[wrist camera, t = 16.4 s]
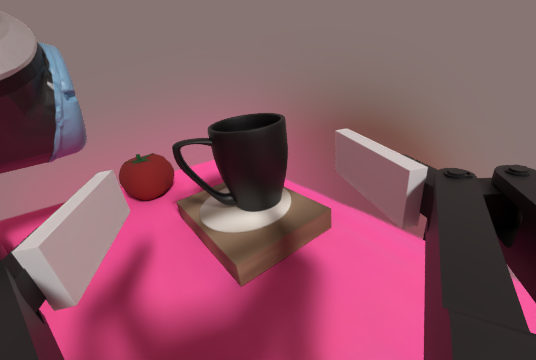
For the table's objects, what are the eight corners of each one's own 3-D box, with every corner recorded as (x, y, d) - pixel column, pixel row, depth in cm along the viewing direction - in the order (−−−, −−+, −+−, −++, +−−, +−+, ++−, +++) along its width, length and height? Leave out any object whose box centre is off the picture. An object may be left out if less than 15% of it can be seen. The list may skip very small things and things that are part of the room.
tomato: (154, 208, 38) (138, 164, 35) (117, 204, 41) (98, 163, 38) (187, 184, 45) (175, 145, 42) (152, 182, 48) (139, 145, 44)
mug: (191, 201, 32) (170, 128, 28) (279, 178, 35) (270, 109, 31) (194, 237, 25) (166, 147, 21) (304, 206, 28) (297, 120, 24)
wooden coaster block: (181, 217, 35) (175, 199, 33) (253, 185, 41) (250, 169, 39) (241, 286, 22) (235, 263, 21) (331, 227, 28) (330, 206, 27)
